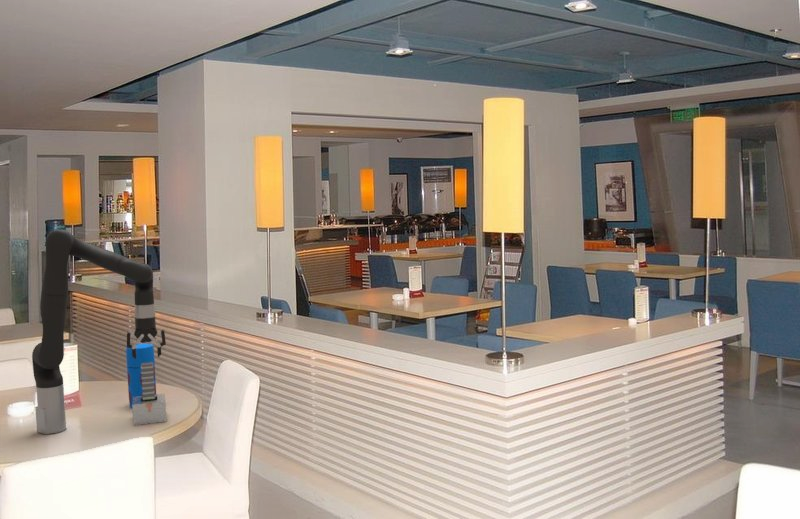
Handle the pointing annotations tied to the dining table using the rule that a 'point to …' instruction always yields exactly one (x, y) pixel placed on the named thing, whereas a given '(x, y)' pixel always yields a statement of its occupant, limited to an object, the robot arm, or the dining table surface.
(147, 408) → the housing
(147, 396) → the column
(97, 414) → the dining table surface
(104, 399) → the dining table surface
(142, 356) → the thermos
